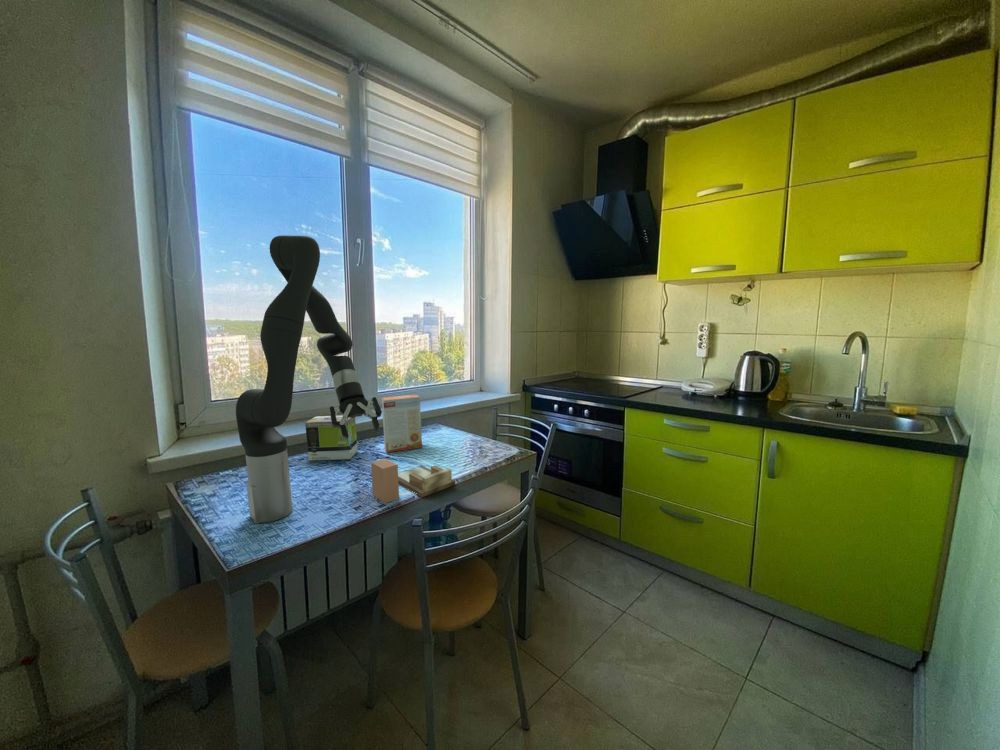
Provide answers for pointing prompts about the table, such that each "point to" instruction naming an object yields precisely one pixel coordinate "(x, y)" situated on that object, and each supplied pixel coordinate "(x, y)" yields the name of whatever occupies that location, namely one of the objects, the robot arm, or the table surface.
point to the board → (426, 480)
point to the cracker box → (401, 422)
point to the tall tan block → (385, 480)
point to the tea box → (330, 439)
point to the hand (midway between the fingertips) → (362, 433)
